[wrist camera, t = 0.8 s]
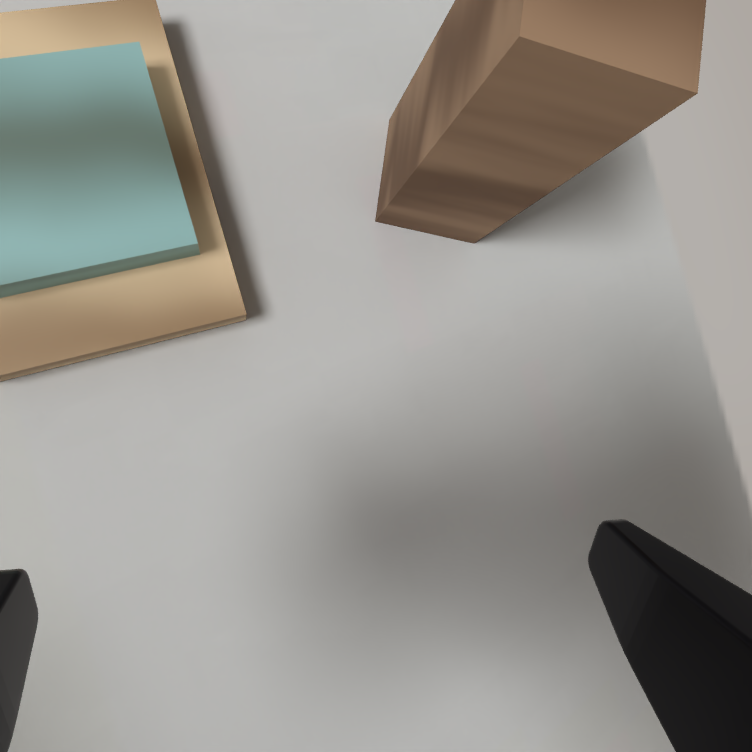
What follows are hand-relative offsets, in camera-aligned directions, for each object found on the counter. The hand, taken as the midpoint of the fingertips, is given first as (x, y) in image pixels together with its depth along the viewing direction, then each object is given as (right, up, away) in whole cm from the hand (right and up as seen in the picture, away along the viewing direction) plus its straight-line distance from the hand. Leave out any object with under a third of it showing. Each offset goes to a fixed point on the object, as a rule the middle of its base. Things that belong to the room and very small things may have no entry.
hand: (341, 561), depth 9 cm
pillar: (+3, +11, +16) cm, 20 cm away
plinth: (-10, +10, +12) cm, 19 cm away
